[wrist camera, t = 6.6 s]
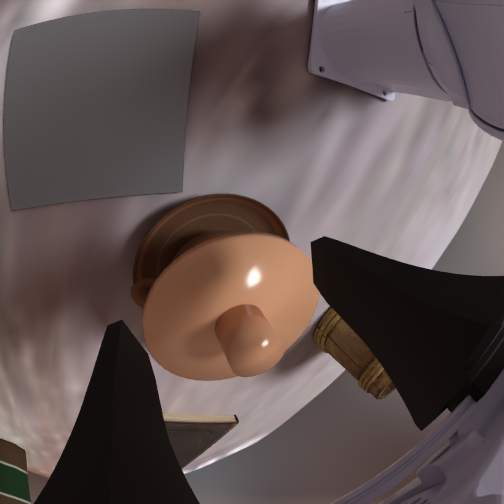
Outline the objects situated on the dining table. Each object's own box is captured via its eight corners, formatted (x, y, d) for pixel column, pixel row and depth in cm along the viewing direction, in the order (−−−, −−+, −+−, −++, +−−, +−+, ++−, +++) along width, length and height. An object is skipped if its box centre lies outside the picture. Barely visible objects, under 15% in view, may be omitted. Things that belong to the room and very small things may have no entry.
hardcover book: (99, 459, 32) (101, 470, 30) (131, 405, 27) (134, 420, 25) (175, 463, 41) (178, 472, 39) (234, 411, 36) (240, 423, 34)
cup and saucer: (159, 335, 23) (173, 391, 18) (110, 213, 16) (103, 261, 11) (281, 294, 26) (315, 337, 21) (276, 170, 20) (327, 198, 15)
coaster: (198, 13, 12) (200, 11, 11) (181, 190, 17) (182, 191, 17) (16, 31, 7) (14, 30, 7) (13, 208, 13) (11, 210, 12)
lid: (282, 191, 14) (325, 220, 11) (326, 313, 20) (354, 344, 17) (101, 308, 13) (101, 361, 10) (205, 389, 19) (220, 427, 16)
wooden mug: (397, 279, 35) (489, 360, 20) (333, 350, 37) (408, 443, 22) (378, 250, 29) (498, 350, 15) (300, 338, 31) (391, 458, 17)
